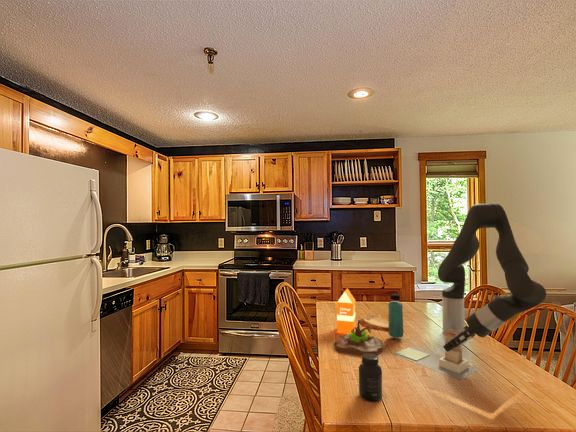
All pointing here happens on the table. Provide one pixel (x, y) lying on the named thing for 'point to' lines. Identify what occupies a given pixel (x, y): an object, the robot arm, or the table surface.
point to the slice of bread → (375, 323)
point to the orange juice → (346, 313)
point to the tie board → (437, 362)
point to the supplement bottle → (370, 378)
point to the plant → (359, 342)
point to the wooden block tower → (456, 352)
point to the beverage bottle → (395, 317)
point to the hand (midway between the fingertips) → (447, 346)
